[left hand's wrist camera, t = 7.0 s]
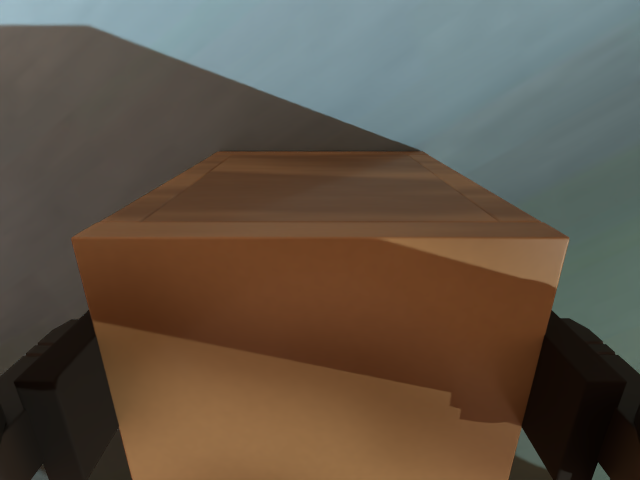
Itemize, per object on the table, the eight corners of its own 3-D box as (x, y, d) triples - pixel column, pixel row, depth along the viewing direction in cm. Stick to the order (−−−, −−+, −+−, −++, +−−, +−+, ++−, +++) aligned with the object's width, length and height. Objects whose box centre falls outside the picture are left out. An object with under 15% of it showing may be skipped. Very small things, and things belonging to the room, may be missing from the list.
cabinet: (393, 462, 26) (445, 728, 15) (246, 462, 26) (194, 727, 15) (423, 151, 19) (571, 237, 8) (216, 151, 19) (69, 237, 8)
